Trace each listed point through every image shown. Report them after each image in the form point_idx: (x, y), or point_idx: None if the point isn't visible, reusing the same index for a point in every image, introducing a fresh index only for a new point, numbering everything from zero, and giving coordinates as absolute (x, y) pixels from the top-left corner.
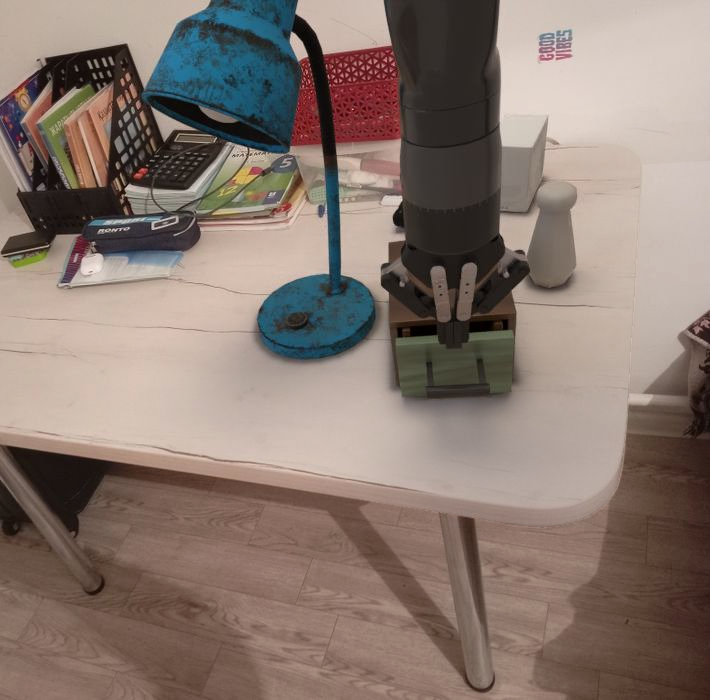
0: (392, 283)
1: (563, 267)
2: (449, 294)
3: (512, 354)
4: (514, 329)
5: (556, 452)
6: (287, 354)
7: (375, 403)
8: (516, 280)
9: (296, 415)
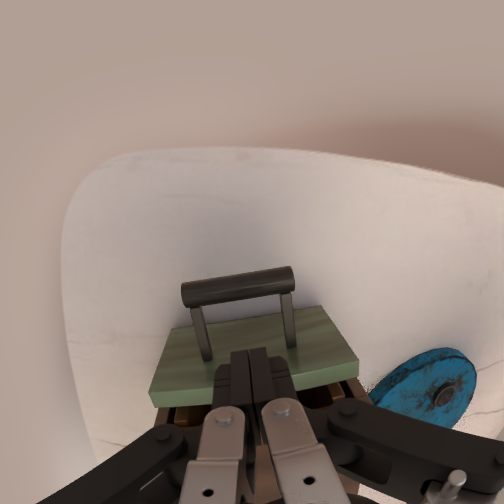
0: (488, 467)
1: (144, 486)
2: (267, 467)
3: (157, 369)
4: (159, 412)
5: (113, 236)
6: (450, 349)
7: (352, 293)
8: (61, 500)
9: (441, 258)
